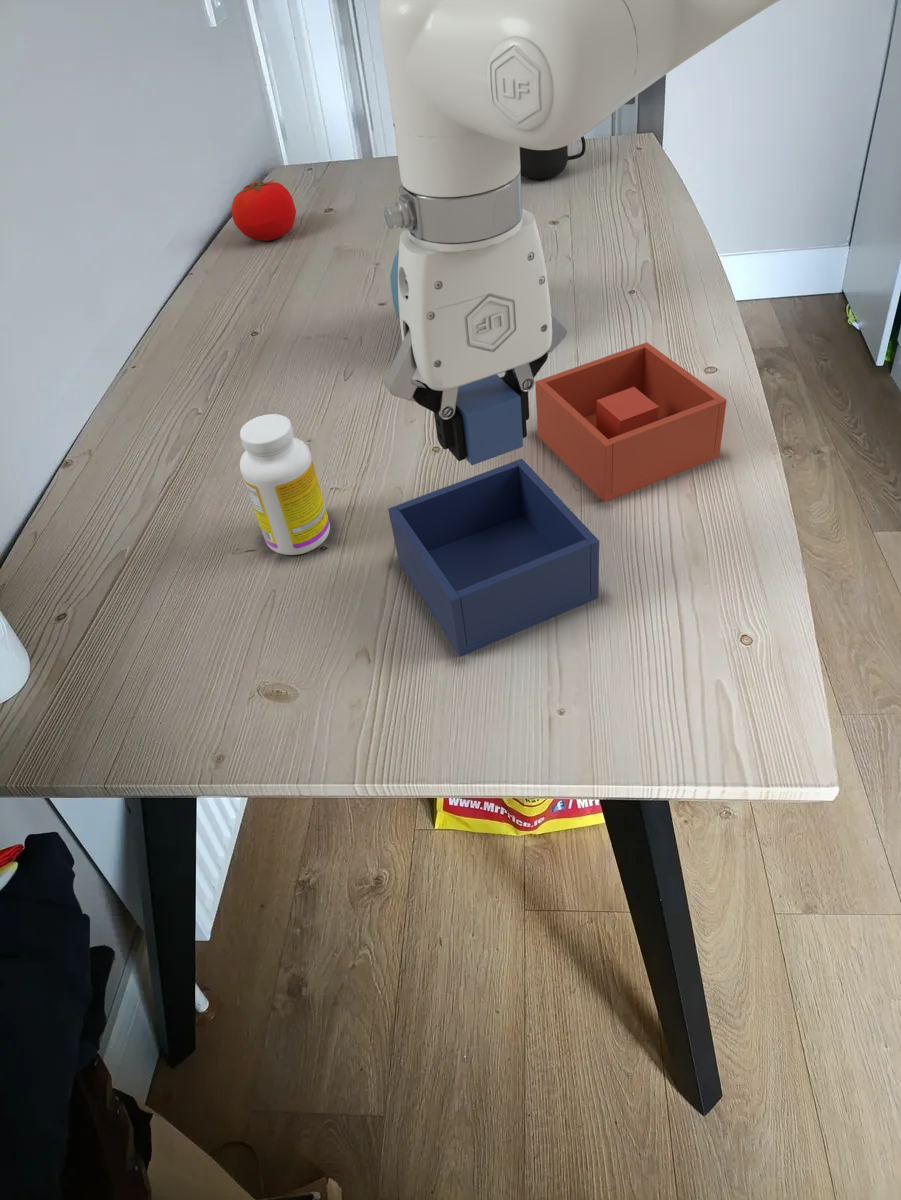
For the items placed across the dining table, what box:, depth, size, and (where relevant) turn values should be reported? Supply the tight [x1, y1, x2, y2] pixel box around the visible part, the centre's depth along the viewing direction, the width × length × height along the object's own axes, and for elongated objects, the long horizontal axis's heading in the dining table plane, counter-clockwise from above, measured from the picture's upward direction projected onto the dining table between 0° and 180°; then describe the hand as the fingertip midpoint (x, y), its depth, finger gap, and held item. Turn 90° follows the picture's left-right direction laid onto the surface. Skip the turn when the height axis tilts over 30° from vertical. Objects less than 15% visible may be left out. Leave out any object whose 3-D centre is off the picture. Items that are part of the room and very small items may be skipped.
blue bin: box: [387, 458, 600, 657], centre depth 78 cm, size 14×14×7 cm
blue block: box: [456, 374, 524, 466], centre depth 68 cm, size 4×4×4 cm
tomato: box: [231, 179, 297, 242], centre depth 140 cm, size 9×10×8 cm
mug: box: [520, 135, 587, 181], centre depth 146 cm, size 12×9×7 cm
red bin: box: [534, 341, 727, 503], centre depth 90 cm, size 14×14×7 cm
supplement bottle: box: [239, 413, 331, 556], centre depth 83 cm, size 7×7×13 cm
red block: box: [596, 387, 659, 440], centre depth 90 cm, size 4×4×4 cm
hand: (484, 438), depth 69 cm, fingers closed on blue block, 4 cm apart
